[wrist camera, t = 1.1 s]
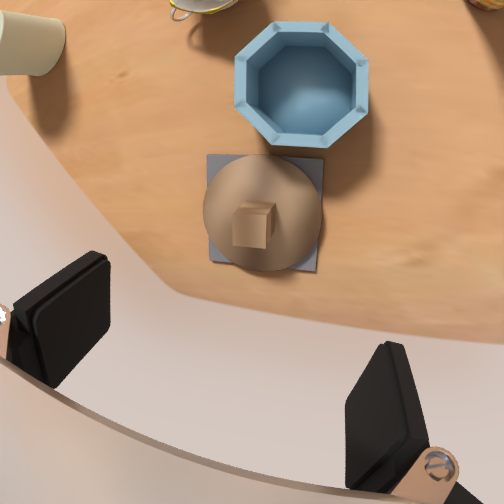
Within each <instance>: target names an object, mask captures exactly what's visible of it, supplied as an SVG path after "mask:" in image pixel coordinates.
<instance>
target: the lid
mask: <svg viewBox="0 0 504 504" xmlns="http://www.w3.org/2000/svg"><path fill="white" fill-rule="evenodd" d="M203 219H204V223H205V227H206V230H207V233H208V235H209V237H210V239H211V241H212V242H213V244H214V245H215V247H216V248H217V249H218V250H219V251H220V252H221V253H222V254H223V255H224V256H225V257H226V258H228V259H229V260H230V261H232V262H233V263H235V264H237V265H239V266H241V267H244V268H247V269H250V270H255V271H265V272H267V271H276V270H281V269H284V268H287V267H289V266H291V265H293V264H295V263H297V262H298V261H300V260H301V259H302V258H303V257H304V256H305V255H306V254H307V253H308V252H309V251H310V250H311V248H312V247H313V245H314V244H315V242H316V240H317V238H318V235H319V232H320V228H321V221H322V208H321V202H320V198H319V195H318V192H317V190H316V188H315V186H314V184H313V183H312V181H311V180H310V178H309V177H308V176H307V175H306V174H305V173H304V172H303V171H302V170H301V169H300V168H299V167H297V166H296V165H295V164H293V163H291V162H290V161H288V160H286V159H283V158H281V157H277V156H273V155H267V154H255V155H249V156H245V157H242V158H239V159H237V160H234V161H232V162H230V163H229V164H227V165H226V166H224V167H223V168H222V169H221V170H220V171H219V172H218V173H217V174H216V175H215V176H214V177H213V179H212V181H211V182H210V184H209V186H208V188H207V190H206V193H205V197H204V202H203Z"/></svg>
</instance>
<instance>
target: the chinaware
mask: <svg viewBox="0 0 504 504" xmlns="http://www.w3.org/2000/svg"><path fill="white" fill-rule="evenodd" d="M169 1H170V4H171V6H172V7H174V8H173V9H172V10H171V12H170V18H171V19H172V20H173V21H182V20H184V19H186V18H188V17H189V16H190V15H191V14H192V12H193V13H199V14H213V13H216V12H217V11H221V10H224V9H226V8H228V7H230V6H232V5H234V3H236V2H237V1H238V0H169ZM176 9H179V10H183V11H188V13H187V14H186V15H184V16H182V17H180V18H174V13H175V11H176Z"/></svg>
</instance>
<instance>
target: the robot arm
mask: <svg viewBox="0 0 504 504" xmlns="http://www.w3.org/2000/svg"><path fill="white" fill-rule="evenodd" d="M110 268H111V265H110V262H109V261H108V259H107V256H106V255H103V254H101V253H98V252H95V251H89V252H88V253H86V254H85V255H83V256H82V257H80V258H78V259H77V260H76V261H74V262H72V263H71V264H69V265H68V266H66V267H65V268H63V269H62V270H60V271H59V272H58V273H56V274H54V275H53V276H52V277H50V278H49V279H47V280H46V281H44V282H43V283H42V284H40V285H39V286H37V287H36V288H34V289H33V290H31V291H30V292H29V293H27V294H26V295H25V296H23V297H22V298H20V299H19V300H18V301H16V302H15V303H14V304H13V307H14V310H13V311H12V312H10V311H9V309H8V308H7V307H6V306H4V305H1V304H0V504H483V503H482V502H481V501H479V500H478V499H477V498H476V497H475V496H473V495H472V494H471V493H470V492H469V491H467V490H466V489H465V488H464V487H463V486H462V485H460V484H459V483H458V482H457V481H456V480H457V478H458V475H459V466H458V463H457V461H456V459H455V457H454V456H453V455H452V454H451V453H450V452H449V451H447V450H445V449H443V448H440V447H430V445H429V438H428V433H427V429H426V425H425V421H424V416H423V412H422V408H421V404H420V401H419V397H418V393H417V389H416V386H415V383H414V379H413V375H412V372H411V368H410V365H409V361H408V358H407V355H406V352H405V348H404V346H403V345H402V344H399V343H395V342H391V341H386V342H385V343H384V344H380V345H379V346H378V347H377V349H376V351H375V352H374V354H373V356H372V358H371V360H370V361H369V363H368V365H367V366H366V368H365V370H364V371H363V373H362V375H361V377H360V378H359V380H358V381H357V383H356V385H355V386H354V388H353V390H352V391H351V393H350V394H349V396H348V398H347V400H346V403H345V435H346V438H345V439H346V467H345V468H346V471H345V472H346V473H345V486H346V488H349V489H341V488H334V487H327V486H321V485H314V484H309V483H303V482H297V481H292V480H287V479H282V478H277V477H273V476H268V475H264V474H260V473H256V472H252V471H248V470H244V469H241V468H237V467H233V466H230V465H226V464H223V463H220V462H216V461H213V460H210V459H207V458H203V457H201V456H197V455H195V454H192V453H189V452H186V451H183V450H180V449H178V448H175V447H172V446H169V445H167V444H164V443H162V442H159V441H157V440H154V439H152V438H149V437H147V436H145V435H142V434H140V433H138V432H135V431H133V430H131V429H128V428H126V427H124V426H122V425H120V424H117V423H116V422H113V421H111V420H109V419H107V418H105V417H103V416H101V415H99V414H97V413H95V412H93V411H91V410H89V409H87V408H85V407H83V406H82V405H80V404H78V403H76V402H74V401H73V400H71V399H69V398H67V397H65V396H64V395H62V394H60V393H59V392H57V391H55V390H54V389H55V388H57V387H58V386H59V385H60V383H61V382H62V381H63V380H64V379H65V378H66V376H67V375H68V374H69V373H70V372H71V371H72V370H73V369H74V368H75V366H76V365H77V364H78V363H79V362H80V361H81V360H82V359H83V358H84V356H85V355H86V354H87V353H88V352H89V351H90V350H91V349H92V348H93V347H94V345H95V344H96V343H97V342H98V341H99V340H100V339H101V338H102V337H103V335H104V334H105V333H106V332H107V331H108V329H109V327H110V322H111V321H110ZM52 388H53V389H52Z"/></svg>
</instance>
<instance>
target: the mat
mask: <svg viewBox="0 0 504 504" xmlns="http://www.w3.org/2000/svg"><path fill="white" fill-rule="evenodd" d="M245 156H249V155H218V154H208V155H207V188H208V186H209V184H210V182H211V181H212V179H213V177H214V176H215V175H216V174H217V173H218V172H219V171H220V170H221V169H222V168H223V167H224V166H226V165H227V164H229V163H230V162H232V161H234V160H237V159H239V158H242V157H245ZM277 157H281V158H283V159H286V160H288V161H290V162H291V163H293V164H295V165H296V166H297V167H299V168H300V169H301V170H302V171H303V172H304V173H305V174H306V175H307V176H308V177H309V178H310V180H311V181H312V183H313V184H314V186H315V188H316V190H317V192H318V195H319V198H320V202H321V194H322V178H323V159H315V158H301V157H284V156H277ZM317 246H318V238H317V240H316V242H315V244H314V245H313V247H312V248H311V250H310V251H309V252H308V253H307V254H306V255H305V256H304V257H303V258H302V259H301V260H300V261H298V262H297V263H295V264H293V265H291V266H289V267H287V269H297V270H307V271H315V267H316V257H317ZM209 256H210V261H220V262H229V263H233V262H232V261H230V260H229V259H228V258H226V257H225V256H224V255H223V254H222V253H221V252H220V251H219V250H218V249H217V248H216V247H215V245H214V244H213V242H212V241H211V239H210V237H209Z"/></svg>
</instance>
